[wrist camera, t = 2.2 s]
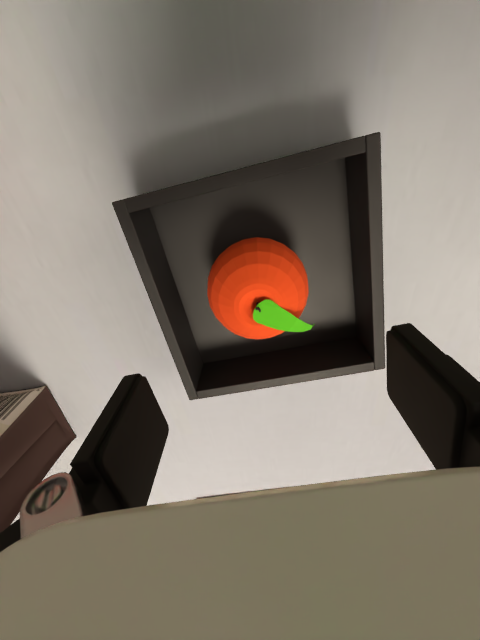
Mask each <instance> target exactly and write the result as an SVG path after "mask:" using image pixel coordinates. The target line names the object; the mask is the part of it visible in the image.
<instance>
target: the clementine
mask: <svg viewBox="0 0 480 640" xmlns="http://www.w3.org/2000/svg"><path fill="white" fill-rule="evenodd" d="M308 293H309V290H308V278H307V274H306V271H305V268H304V265H303V263H302V262H301V260H300V259H299V258H298V256H297V255H296V254H295V252H293V251H292V250H291V249H289V248H288V247H287V246H285V245H284V244H282V243H280V242H277V241H275V240H272V239H270V238H260V237H254V238H248V239H243V240H241V241H239V242H237V243H234V244H232V245H231V246H229V247H228V248H227V249H226V250H225V251H223V252H222V253H221V254H220V255H219V256H218V258H217V259H216V261H215V262H214V264H213V265H212V267H211V270H210V273H209V276H208V289H207V295H208V300H209V304H210V307H211V309H212V311H213V313H214V315H215V317H216V318H217V319H218V320H219V321H220V322H221V323H222V324H223V325H224V327H225V328H226V329H228V330H230V331H231V332H233V333H234V334H236V335H239V336H242V337H244V338H249V339H266V338H271V337H274V336H276V335H279V334H281V333H283V332H284V331H288V332H305V331H308V330H311V328H312V327H313V326H314V325H310V324H307V323H305V322H303V321H302V320H300V319H298V318H299V317H300V316H301V314H302V312H303V310H304V308H305V306H306V303H307V298H308Z"/></svg>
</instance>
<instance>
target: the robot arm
mask: <svg viewBox="0 0 480 640" xmlns="http://www.w3.org/2000/svg"><path fill="white" fill-rule="evenodd" d="M386 345H387V391H388V395H389V397H390V399H391V401H392V402H393V404H394V405H395V407H396V408H397V410H398V411H399V413H400V414H401V416H402V418H403V419H404V421H405V422H406V424H407V425H408V427H409V428H410V430H411V431H412V433H413V434H414V436H415V438H416V439H417V441H418V442H419V444H420V445H421V447H422V448H423V450H424V451H425V453H426V454H427V456H428V458H429V459H430V461H431V462H432V464H433V465H434V467H435V468H436V470H429V471H419V472H410V473H400V474H391V475H383V476H374V477H366V478H358V479H350V480H342V481H334V482H326V483H317V484H309V485H301V486H294V487H286V488H278V489H270V490H262V491H254V492H247V493H239V494H231V495H224V496H216V497H208V498H201V499H194V500H186V501H179V502H171V503H164V504H156V505H149V506H146V505H147V502H148V499H149V495H150V492H151V489H152V485H153V482H154V479H155V476H156V472H157V469H158V466H159V462H160V459H161V456H162V452H163V449H164V446H165V443H166V439H167V436H168V431H169V429H168V424H167V422H166V419H165V417H164V415H163V413H162V411H161V409H160V406H159V404H158V402H157V400H156V398H155V396H154V394H153V391H152V389H151V387H150V385H149V383H148V381H147V379H146V377H145V376H142V375H140V374H133V375H128V376H124V377H123V379H122V380H121V382H120V384H119V385H118V387H117V388H116V390H115V392H114V393H113V395H112V397H111V398H110V400H109V401H108V403H107V405H106V406H105V408H104V410H103V411H102V413H101V415H100V416H99V418H98V419H97V421H96V423H95V424H94V426H93V428H92V429H91V431H90V433H89V434H88V436H87V437H86V439H85V441H84V442H83V444H82V446H81V447H80V449H79V450H78V452H77V454H76V455H75V457H74V459H73V460H72V462H71V464H70V465H71V466H72V469H71V471H70V473H69V474H68V473H66V472H64V473H57V474H54V475H52V476H50V477H48V478H46V479H45V480H43V481H42V482H41V483H39V484H38V485H37V486H36V487H35V488H34V489H33V490H32V491H31V492H30V493H29V494H28V495H27V497H26V498H25V499H24V501H23V503H22V505H21V508H20V519H18V520H17V521H16V522H14V523H13V524H12V525H10V526H9V527H8V528H6V529H5V530H3V531H2V532H1V533H0V640H480V382H479V381H477V380H476V379H475V378H474V377H473V376H472V375H471V374H470V373H468V372H467V371H466V370H465V369H464V368H463V367H462V366H460V365H459V364H458V363H457V362H456V361H455V360H454V359H453V358H451V357H450V356H448V355H445V354H444V353H443V352H442V351H441V350H440V349H439V348H437V347H436V346H435V345H434V344H433V343H432V342H431V341H430V340H429V339H427V338H426V337H425V336H424V335H423V334H422V333H421V332H420V331H418V330H417V329H416V328H415V327H414V326H413V325H412V324H410V323H407V324H402V325H396V326H392V328H391V331H387V334H386Z"/></svg>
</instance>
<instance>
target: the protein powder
mask: <svg viewBox="0 0 480 640" xmlns="http://www.w3.org/2000/svg"><path fill="white" fill-rule="evenodd" d="M75 438H76V436H75V434H74V433H73V431H72V429H71V428H70V426H69V424H68V422H67V421H66V419H65V417H64V415H63V414H62V412H61V410H60V408H59V407H58V405H57V403H56V402H55V400H54V398H53V396H52V395H51V393H50V391H49V390H48V388H47V386H43V387H39V388H35V389H29V390H23V391H16V392H9V393H2V394H0V533H1V532H2V531H3V530H5V529H6V528H8V527H9V526H10V525H11V523H12V522H13V520H14V519H15V518H16V516H17V515H18V513H19V512H20V508H21V505H22V503H23V501H24V499H25V498H26V497H27V495H28V494H29V493H30V492H31V491H32V490H33V489H34V488H35V487H36V486H37V485H38V484H39V483H41V481H42V480H43V478H44V477H45V476H46V474H47V473H48V471H49V470H50V469H51V467H52V466H53V465H54V463H55V462H56V461H57V459H58V458H59V457H60V455H61V454H62V453H63V451H64V450H65V449H66V448H67V446H68V445H69V444H70V443H71V442H72V441H73V440H74V439H75Z"/></svg>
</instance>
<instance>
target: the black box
mask: <svg viewBox="0 0 480 640" xmlns="http://www.w3.org/2000/svg"><path fill="white" fill-rule="evenodd" d="M112 204H113V207H114V210H115V212H116V215H117V217H118V220H119V222H120V225H121V227H122V230H123V232H124V235H125V237H126V240H127V243H128V245H129V248H130V250H131V253H132V255H133V258H134V260H135V263H136V265H137V268H138V270H139V273H140V275H141V278H142V281H143V283H144V286H145V288H146V291H147V293H148V296H149V298H150V301H151V303H152V306H153V308H154V311H155V314H156V316H157V319H158V321H159V324H160V326H161V329H162V331H163V334H164V336H165V339H166V341H167V344H168V346H169V349H170V352H171V354H172V357H173V359H174V362H175V364H176V367H177V369H178V372H179V374H180V377H181V379H182V382H183V385H184V387H185V390H186V392H187V395H188V397H189V400H194V399H198V398H199V399H201V398H207V397H213V396H219V395H225V394H232V393H238V392H244V391H250V390H256V389H262V388H269V387H275V386H281V385H287V384H293V383H299V382H306V381H312V380H318V379H324V378H330V377H336V376H343V375H349V374H355V373H361V372H367V371H373V370H378V369H384V368H385V344H384V293H383V242H382V190H381V139H380V132H377V133H373V134H369V135H366V136H361V137H358V138H354V139H350V140H346V141H342V142H339V143H335V144H331V145H327V146H324V147H320V148H316V149H312V150H308V151H305V152H301V153H297V154H293V155H289V156H286V157H282V158H278V159H274V160H270V161H267V162H263V163H259V164H255V165H252V166H248V167H244V168H240V169H236V170H233V171H229V172H225V173H221V174H217V175H214V176H210V177H206V178H202V179H199V180H195V181H191V182H187V183H183V184H180V185H176V186H172V187H168V188H164V189H161V190H157V191H153V192H149V193H145V194H142V195H138V196H134V197H130V198H127V199H123V200H119V201H115V202H113V203H112ZM254 237H260V238H270V239H272V240H275V241H277V242H280V243H282V244H284V245H285V246H287V247H288V248H289V249H291V250H292V251H293V252H295V254H296V255H297V256H298V258H299V259H300V260H301V262H302V263H303V265H304V268H305V271H306V274H307V278H308V290H309V293H308V298H307V303H306V306H305V308H304V310H303V312H302V314H301V316H300V317H299V318H298V319H300V320H302V321H303V322H305V323H307V324H310V325H314V326H313V327H312V328H311V330H308V331H305V332H288V331H284V332H283V333H281V334H279V335H276V336H274V337H271V338H266V339H249V338H244V337H242V336H239V335H236V334H234V333H233V332H231V331H230V330H228V329H226V328H225V327H224V325H223V324H222V323H221V322H220V321H219V320H218V319H217V318H216V317H215V315H214V313H213V311H212V309H211V307H210V304H209V300H208V295H207V289H208V276H209V273H210V270H211V267H212V265H213V264H214V262H215V261H216V259H217V258H218V256H219V255H220V254H221V253H222V252H223V251H225V250H226V249H227V248H228V247H229V246H231V245H232V244H234V243H237V242H239V241H241V240H243V239H248V238H254Z"/></svg>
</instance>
